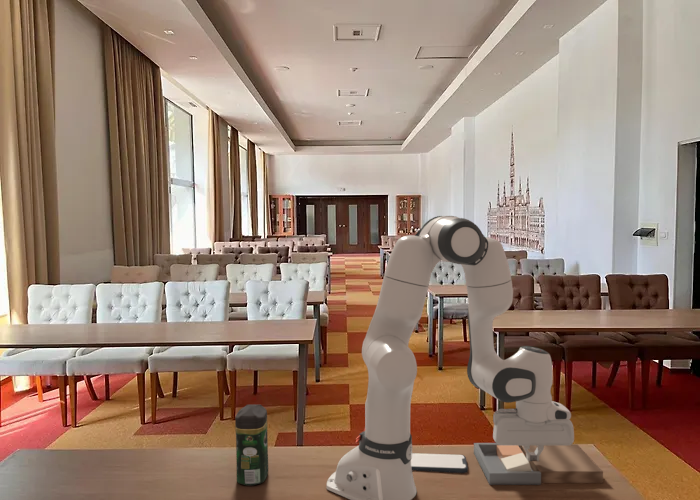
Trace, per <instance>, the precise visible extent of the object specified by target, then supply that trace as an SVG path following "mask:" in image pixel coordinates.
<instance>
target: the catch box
mask: <svg viewBox="0 0 700 500" xmlns="http://www.w3.org/2000/svg"><path fill="white" fill-rule="evenodd" d="M497 445H498V444H497V443H496V442H473V454H474V456H475V458H476V460H477V462H478V464H479V467H480V469H481V470H482V472H483V474H484V477H485V479H486V482H487V483H488V485H489V486H490V485H491V486H497V485H498V486H519V485H520V486H526V485H527V486H531V485H532V486H535V485H536V486H541V485H542V483H541V472H540V471H533V470H532V469H531V470H532V471H505V470H504V468H503V465H502V462H501V461H500V459H499V457H498V456H497ZM518 446H519V448H520V449H521V445H518Z"/></svg>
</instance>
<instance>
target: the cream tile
mask: <svg viewBox="0 0 700 500" xmlns="http://www.w3.org/2000/svg"><path fill="white" fill-rule="evenodd" d="M501 462H502V465H503V468H504V470H505V471H532V470H531V467H530V463H529V462H528V460H527V459H526V457H525V456H524V454H523V453H520V454H516V455H512V456H509V457H505V458H501Z"/></svg>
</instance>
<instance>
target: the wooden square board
mask: <svg viewBox="0 0 700 500" xmlns="http://www.w3.org/2000/svg"><path fill="white" fill-rule="evenodd" d="M536 448H537V446H536V445H530V449H528V451H529V452H535V450H536ZM521 450H522V452H523V453H524V455H525V457H526V452H525V450H524V448H523V447H522V445H521ZM528 462H529V463H530V467H531V469H532V470H533V471H540V472H541V484H548V483H549V484H556V483H557V484H565V483H566V484H603V483H604V470H602V469H601V467H600V466H599V465H598V464H597V463H595V461H594V460H593V459H592V458H591V457H590V456H589V455H588V454H587V453H586V452H585V450H583V449H582V448H581V447H580V446H579V444H577V443H576V444H573V443H572V445H570V446H563V445H544V450H543V451H542V452H541V454H540V455H539V461H528Z"/></svg>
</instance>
